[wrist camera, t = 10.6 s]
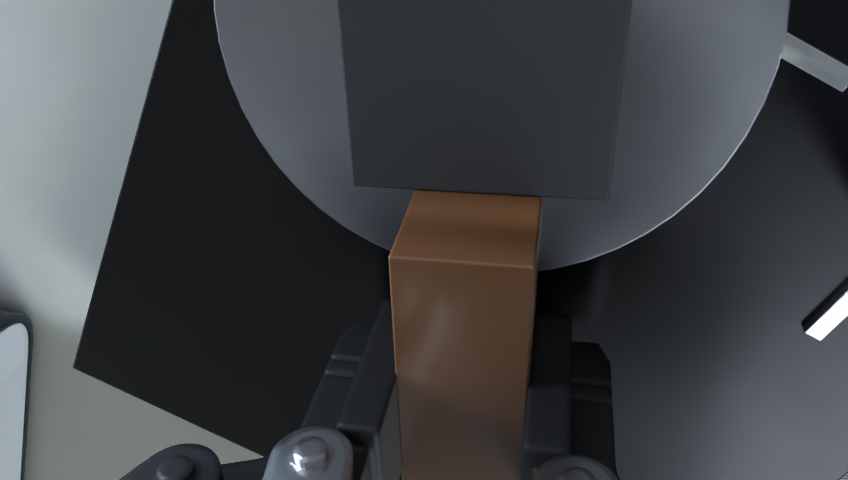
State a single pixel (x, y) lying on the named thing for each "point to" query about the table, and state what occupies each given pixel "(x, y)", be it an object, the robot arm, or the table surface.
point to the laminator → (14, 392)
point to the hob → (556, 290)
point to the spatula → (476, 194)
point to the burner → (561, 217)
